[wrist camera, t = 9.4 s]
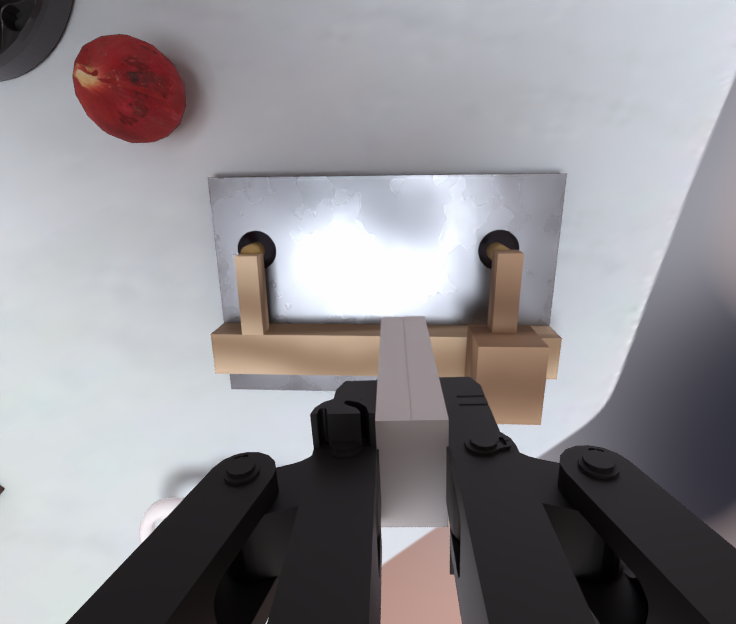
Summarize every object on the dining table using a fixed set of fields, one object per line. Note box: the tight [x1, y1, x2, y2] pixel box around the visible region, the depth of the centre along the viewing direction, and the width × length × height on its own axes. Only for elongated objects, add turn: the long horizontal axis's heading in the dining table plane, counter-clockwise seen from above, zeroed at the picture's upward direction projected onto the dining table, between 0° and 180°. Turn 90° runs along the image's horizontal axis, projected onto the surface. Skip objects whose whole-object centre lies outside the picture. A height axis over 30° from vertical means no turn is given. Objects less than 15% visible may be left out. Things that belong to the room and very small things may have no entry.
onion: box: [73, 34, 186, 143], centre depth 26 cm, size 6×6×8 cm
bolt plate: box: [208, 174, 567, 391], centre depth 32 cm, size 16×24×1 cm, turn 91°
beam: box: [211, 242, 562, 379], centre depth 31 cm, size 9×24×2 cm, turn 91°
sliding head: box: [465, 242, 550, 425], centre depth 28 cm, size 10×4×6 cm, turn 1°
